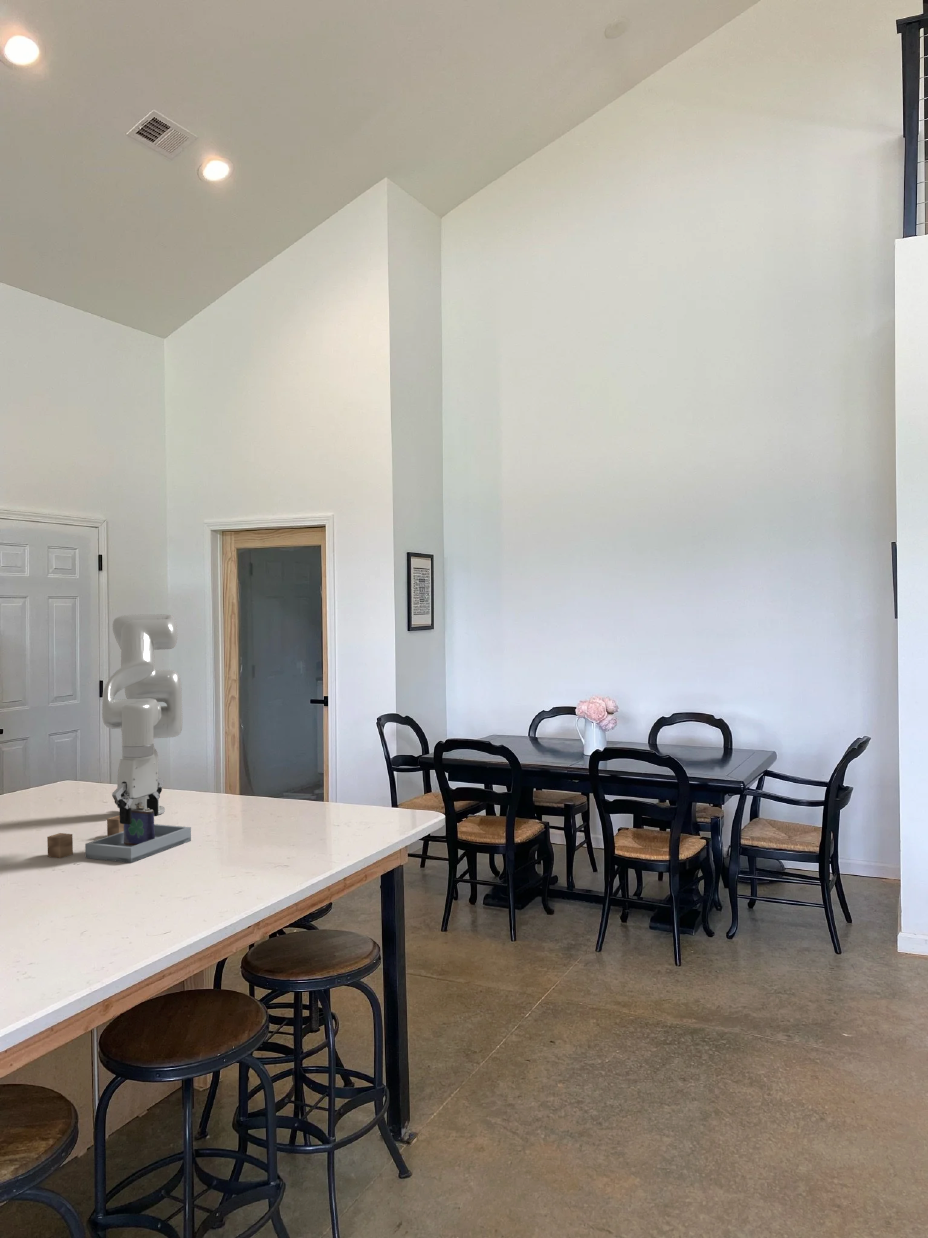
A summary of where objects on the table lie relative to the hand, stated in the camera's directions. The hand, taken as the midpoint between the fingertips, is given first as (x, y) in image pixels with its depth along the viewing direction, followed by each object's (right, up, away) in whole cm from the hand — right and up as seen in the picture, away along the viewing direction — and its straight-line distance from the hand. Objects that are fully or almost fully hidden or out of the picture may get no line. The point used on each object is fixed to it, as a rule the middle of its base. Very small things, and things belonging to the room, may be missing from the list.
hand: (139, 819), depth 230 cm
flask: (0, -7, 0) cm, 7 cm away
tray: (0, -7, 0) cm, 7 cm away
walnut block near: (-18, -8, -5) cm, 20 cm away
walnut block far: (-10, -8, +14) cm, 19 cm away
